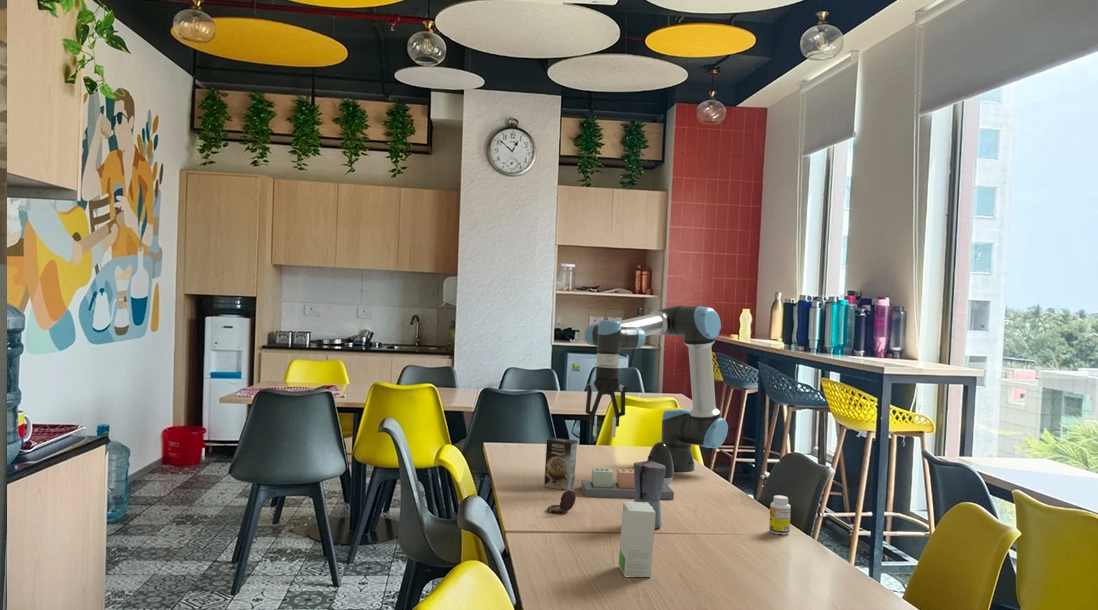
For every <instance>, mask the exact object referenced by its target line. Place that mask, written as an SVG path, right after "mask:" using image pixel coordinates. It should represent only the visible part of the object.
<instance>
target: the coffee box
mask: <svg viewBox="0 0 1098 610" xmlns="http://www.w3.org/2000/svg"><path fill="white" fill-rule="evenodd" d="M545 447H546V449H545V465H544V482H543V487H545V488H549V489H550V488H551V489H558V490H562V489H564V490H563V491H567V489H568V490H569V489H570V490H572V489H573V487H574V488H575V481H576V480H575V479H576V465H577V463H576V462H577V449H578V440H575V439H567V438H566V439H565V438H559V437H551V438H548V439H546V445H545ZM571 488H572V489H571Z"/></svg>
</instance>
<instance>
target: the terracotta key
mask: <svg viewBox="0 0 1098 610" xmlns="http://www.w3.org/2000/svg"><path fill="white" fill-rule="evenodd" d="M616 471H617V472H616V481H617V485H618V487H619V488H635V484H634V468H630V469H629V468H627V469H626V468H617V469H616Z"/></svg>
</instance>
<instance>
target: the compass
mask: <svg viewBox="0 0 1098 610" xmlns="http://www.w3.org/2000/svg"><path fill="white" fill-rule="evenodd" d="M575 502H576V492H574V491H573V490H572V489H570V490H568V489H567V490H565V491H564V492H563V493H562V495H561V497H560V502H559V504H551V505H549V506H548V507H547V508H546V509H545V512H547V513H548V512H549V513H550V512H552V513H551V514H556V513H563V514H566V513H568V511H571V509H572V508H573V507H574V505H575Z"/></svg>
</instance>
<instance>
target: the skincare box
mask: <svg viewBox="0 0 1098 610" xmlns="http://www.w3.org/2000/svg"><path fill="white" fill-rule="evenodd" d="M621 513H622V515H621V525H620V526H621V529H620V540H619V541H620V542H619V554H618V555H619V556H618V567H619V570H620V571H621V570H622V571H621V573H622V572H623V573H622V575H623V574H624V575H623V577H624V576H629V577H630V576H631V577H632V576H633V577H651V578H652V568H653V567H652V564H653V562H652V561H653V551H654V539H655V516H656V512H655V511H654V510H653V507H652V506H650V504H649V503H648V502H634V501H623V502H622V512H621Z"/></svg>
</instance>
